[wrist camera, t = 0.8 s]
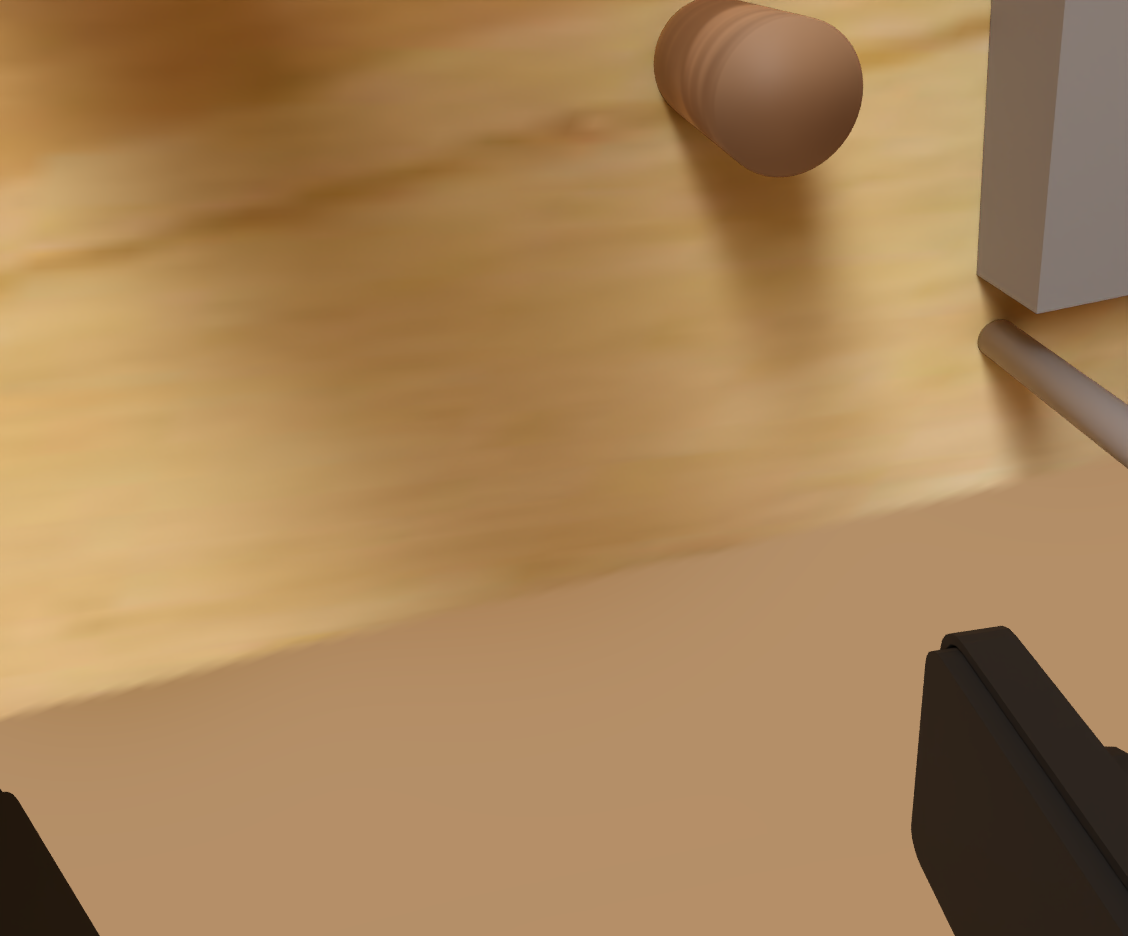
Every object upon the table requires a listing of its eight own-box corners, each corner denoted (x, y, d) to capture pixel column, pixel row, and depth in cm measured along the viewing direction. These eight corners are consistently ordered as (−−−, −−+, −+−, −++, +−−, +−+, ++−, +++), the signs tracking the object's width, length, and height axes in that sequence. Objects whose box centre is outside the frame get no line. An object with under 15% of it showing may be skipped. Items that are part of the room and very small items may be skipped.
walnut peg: (646, 9, 31) (708, 33, 23) (762, -15, 31) (862, 2, 23) (661, 131, 33) (722, 190, 25) (769, 108, 33) (864, 161, 25)
